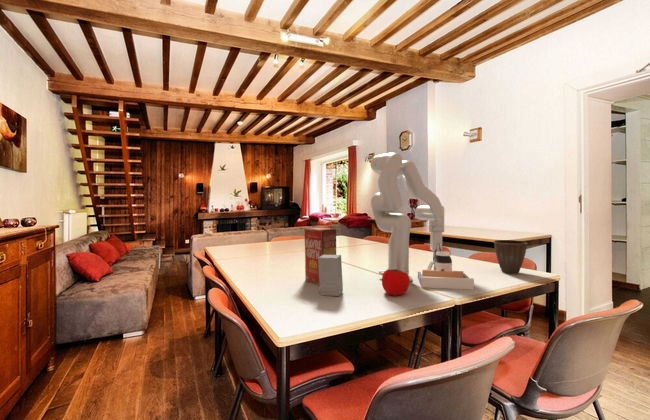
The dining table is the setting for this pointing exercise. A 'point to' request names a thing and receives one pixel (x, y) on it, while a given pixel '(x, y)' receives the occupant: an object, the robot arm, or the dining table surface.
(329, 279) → the skincare box
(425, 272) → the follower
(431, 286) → the white rectangular tray
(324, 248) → the food packaging
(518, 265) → the plant pot
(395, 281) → the tomato
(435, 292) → the dining table surface
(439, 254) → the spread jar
